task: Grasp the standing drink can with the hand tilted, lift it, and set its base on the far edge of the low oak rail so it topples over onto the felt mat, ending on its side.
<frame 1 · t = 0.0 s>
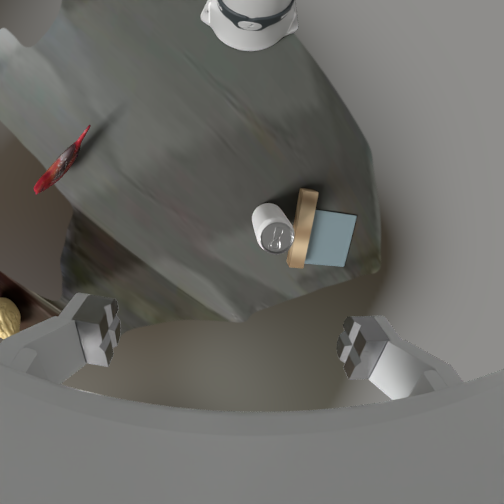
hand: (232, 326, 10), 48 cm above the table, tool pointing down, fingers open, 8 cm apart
felt mat: (329, 239, 61), on the table
can: (267, 217, 59), on the table
pale yellow round lump: (11, 308, 62), on the table
decorative bird figurine: (77, 156, 50), on the table
oak rail: (300, 226, 60), on the table
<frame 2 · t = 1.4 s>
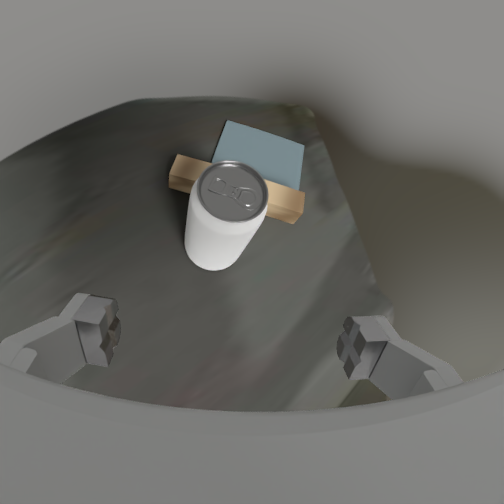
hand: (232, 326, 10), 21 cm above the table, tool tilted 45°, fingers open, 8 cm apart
felt mat: (259, 158, 39), on the table
can: (212, 244, 33), on the table
oak rail: (234, 195, 36), on the table
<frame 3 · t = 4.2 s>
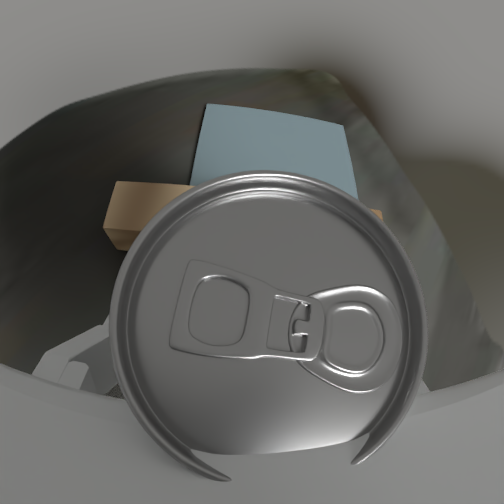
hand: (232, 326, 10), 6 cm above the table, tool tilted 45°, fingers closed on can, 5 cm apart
felt mat: (277, 157, 21), on the table
can: (223, 353, 15), on the table, touching gripper
oak rail: (247, 239, 18), on the table
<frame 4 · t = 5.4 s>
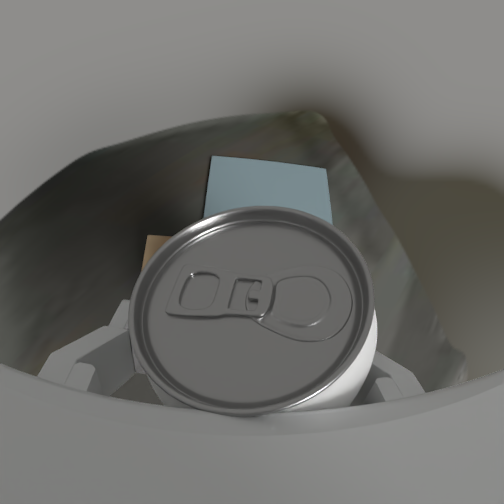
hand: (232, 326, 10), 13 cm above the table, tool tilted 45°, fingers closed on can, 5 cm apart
felt mat: (269, 204, 27), on the table
can: (279, 407, 15), point 6 cm above the table, touching gripper
oak rail: (245, 273, 25), on the table
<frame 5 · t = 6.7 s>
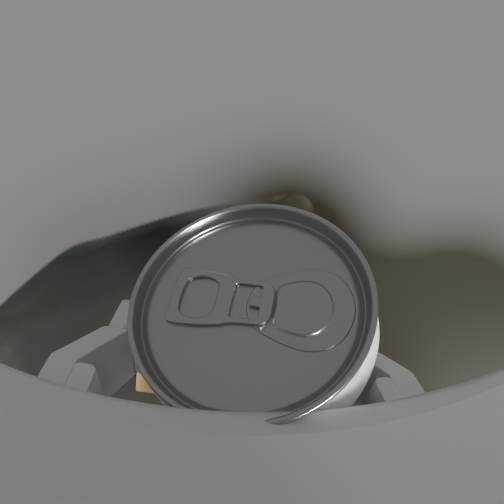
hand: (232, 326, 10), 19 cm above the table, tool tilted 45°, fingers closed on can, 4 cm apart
can: (280, 396, 16), point 12 cm above the table, touching gripper
when the fingers open (11 cm above the table, at t = 8.0 s): can moves 5 cm, resting on felt mat.
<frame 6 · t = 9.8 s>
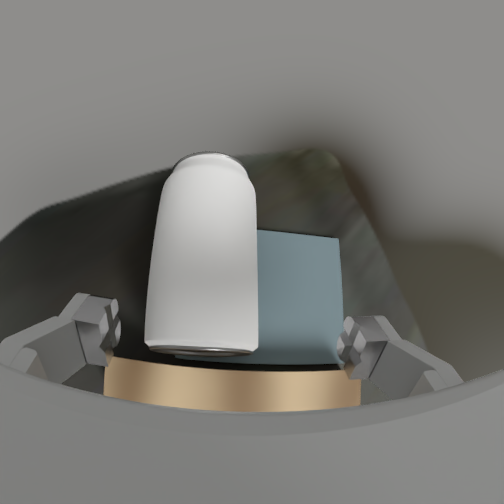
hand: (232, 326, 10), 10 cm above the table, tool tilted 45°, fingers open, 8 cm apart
felt mat: (264, 295, 21), on the table
can: (200, 357, 15), point 4 cm above the table, touching felt mat
oak rail: (232, 390, 18), on the table
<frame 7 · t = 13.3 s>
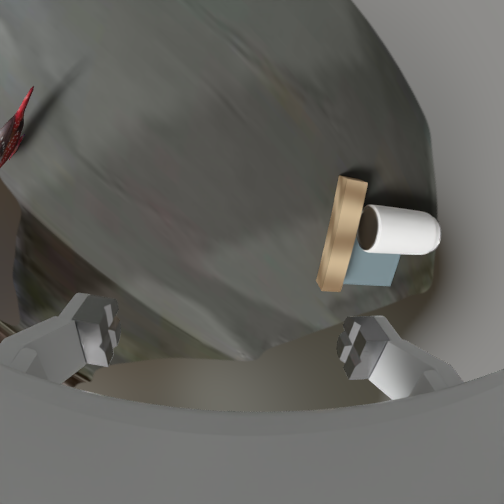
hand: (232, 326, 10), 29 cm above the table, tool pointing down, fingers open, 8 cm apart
felt mat: (374, 249, 42), on the table
can: (364, 228, 36), point 4 cm above the table, touching felt mat
decorative bird figurine: (25, 136, 30), on the table
oak rail: (337, 231, 40), on the table
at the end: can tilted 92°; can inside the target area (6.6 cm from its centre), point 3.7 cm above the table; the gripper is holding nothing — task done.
